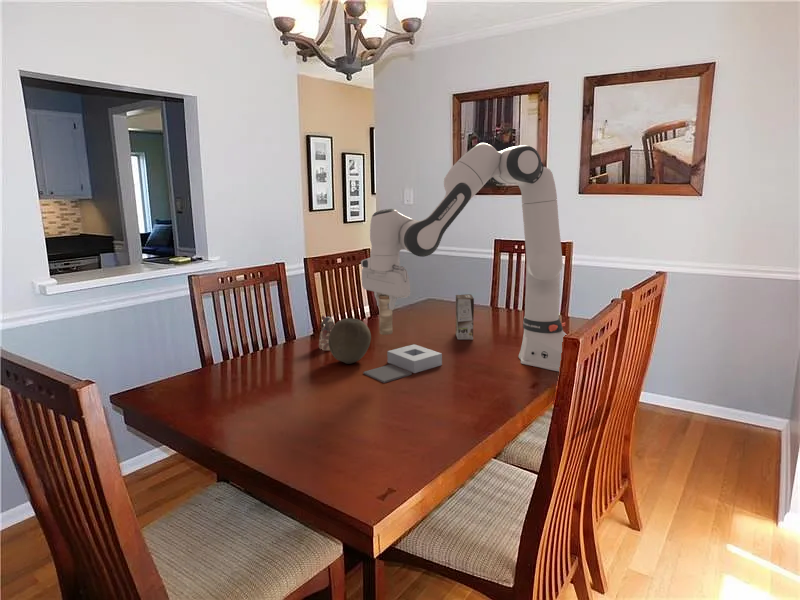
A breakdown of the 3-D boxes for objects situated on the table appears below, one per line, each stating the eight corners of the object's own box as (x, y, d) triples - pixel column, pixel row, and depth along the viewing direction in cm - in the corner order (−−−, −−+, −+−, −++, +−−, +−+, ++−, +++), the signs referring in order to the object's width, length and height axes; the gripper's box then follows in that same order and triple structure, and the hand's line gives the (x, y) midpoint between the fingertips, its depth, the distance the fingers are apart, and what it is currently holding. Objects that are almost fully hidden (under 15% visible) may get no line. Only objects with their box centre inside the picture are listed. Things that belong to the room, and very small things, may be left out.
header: (441, 364, 178) (441, 353, 177) (414, 373, 171) (414, 361, 170) (414, 355, 189) (414, 344, 188) (387, 362, 181) (387, 351, 181)
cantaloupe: (365, 369, 175) (363, 325, 171) (324, 367, 177) (321, 323, 174) (375, 356, 188) (374, 314, 185) (337, 354, 191) (335, 313, 188)
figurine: (328, 351, 194) (327, 319, 192) (315, 348, 198) (313, 317, 196) (342, 346, 200) (341, 315, 197) (328, 343, 204) (327, 313, 201)
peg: (395, 333, 167) (394, 295, 165) (384, 335, 165) (384, 297, 162) (387, 330, 170) (386, 293, 168) (376, 332, 168) (376, 295, 165)
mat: (411, 374, 169) (411, 372, 169) (384, 383, 163) (384, 381, 163) (390, 366, 178) (390, 364, 178) (363, 373, 171) (363, 371, 171)
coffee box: (473, 339, 206) (474, 298, 203) (457, 339, 207) (457, 298, 203) (471, 333, 215) (471, 293, 212) (455, 333, 215) (455, 294, 212)
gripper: (415, 266, 157) (415, 312, 160) (373, 259, 172) (374, 300, 175) (398, 268, 153) (398, 315, 156) (357, 260, 169) (358, 303, 171)
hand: (385, 307), depth 166 cm, fingers closed on peg, 4 cm apart
